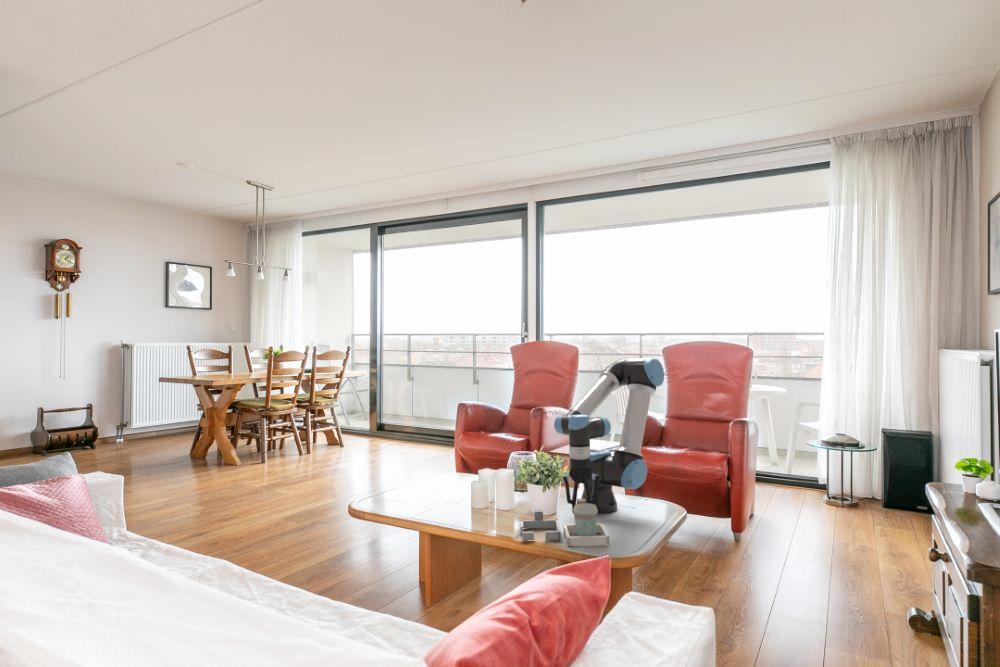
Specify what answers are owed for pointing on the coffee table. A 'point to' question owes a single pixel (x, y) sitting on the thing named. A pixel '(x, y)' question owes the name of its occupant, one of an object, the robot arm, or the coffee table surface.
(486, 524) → the coffee table surface
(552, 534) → the grey block base
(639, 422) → the robot arm
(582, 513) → the coffee cup
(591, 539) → the grey tray bin
